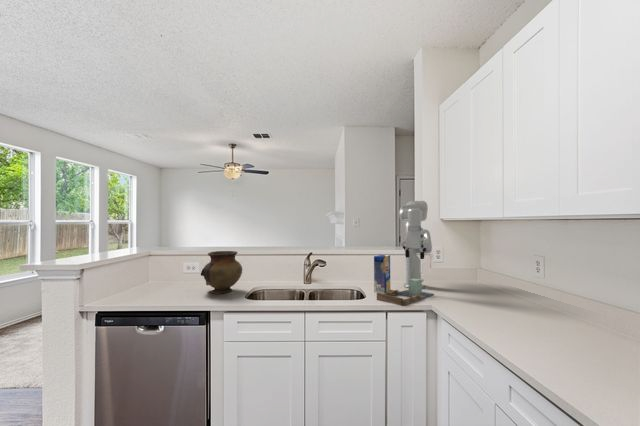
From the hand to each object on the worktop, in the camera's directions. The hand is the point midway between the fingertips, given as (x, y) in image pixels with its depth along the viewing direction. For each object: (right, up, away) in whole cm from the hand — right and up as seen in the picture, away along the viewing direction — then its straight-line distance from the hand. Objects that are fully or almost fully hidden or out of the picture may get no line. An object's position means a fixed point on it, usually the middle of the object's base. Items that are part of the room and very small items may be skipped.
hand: (414, 258), depth 182 cm
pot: (-118, -22, +7) cm, 120 cm away
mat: (0, -22, -1) cm, 22 cm away
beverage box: (-18, -22, +8) cm, 29 cm away
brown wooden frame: (-13, -21, -12) cm, 28 cm away
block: (0, -21, -1) cm, 21 cm away
